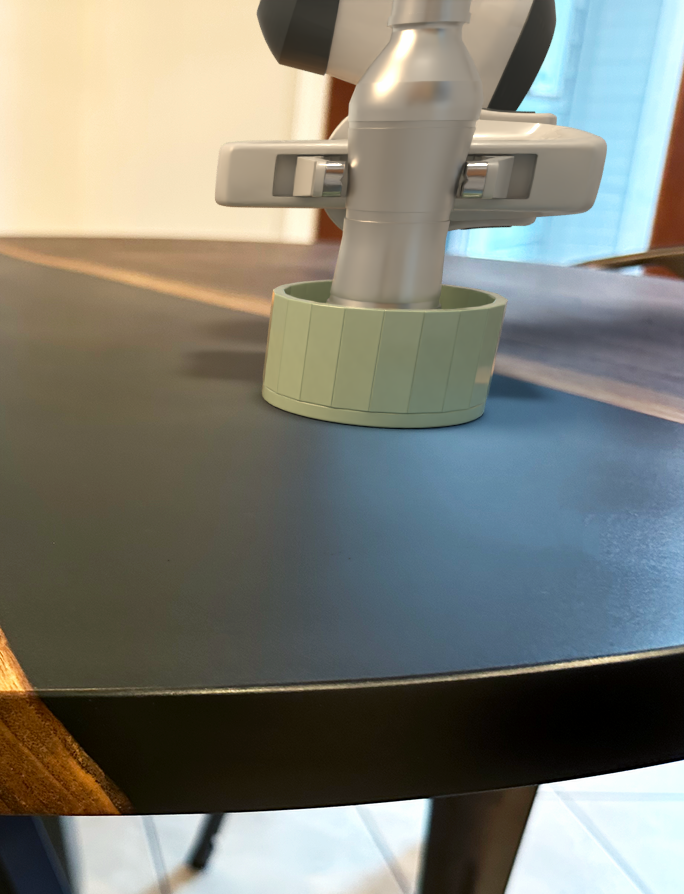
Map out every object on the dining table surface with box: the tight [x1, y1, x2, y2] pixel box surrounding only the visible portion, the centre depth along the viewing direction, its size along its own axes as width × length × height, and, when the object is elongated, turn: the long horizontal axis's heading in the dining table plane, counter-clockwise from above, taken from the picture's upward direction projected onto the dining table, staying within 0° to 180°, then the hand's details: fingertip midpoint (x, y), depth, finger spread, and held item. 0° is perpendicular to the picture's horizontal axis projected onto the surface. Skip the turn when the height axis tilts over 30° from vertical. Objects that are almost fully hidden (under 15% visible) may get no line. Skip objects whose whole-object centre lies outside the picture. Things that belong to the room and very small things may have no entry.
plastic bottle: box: [326, 0, 484, 310], centre depth 54 cm, size 6×7×20 cm
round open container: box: [261, 279, 509, 429], centre depth 57 cm, size 12×12×6 cm
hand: (403, 180), depth 53 cm, fingers closed on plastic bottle, 6 cm apart
